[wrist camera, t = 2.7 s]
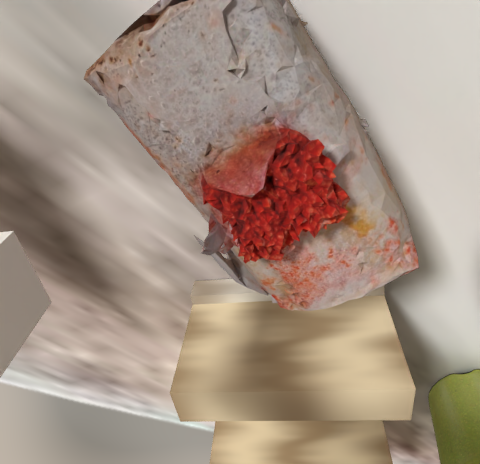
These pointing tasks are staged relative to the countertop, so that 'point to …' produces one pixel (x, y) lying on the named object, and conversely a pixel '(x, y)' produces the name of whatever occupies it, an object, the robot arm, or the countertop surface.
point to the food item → (260, 148)
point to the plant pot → (457, 417)
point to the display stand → (291, 377)
